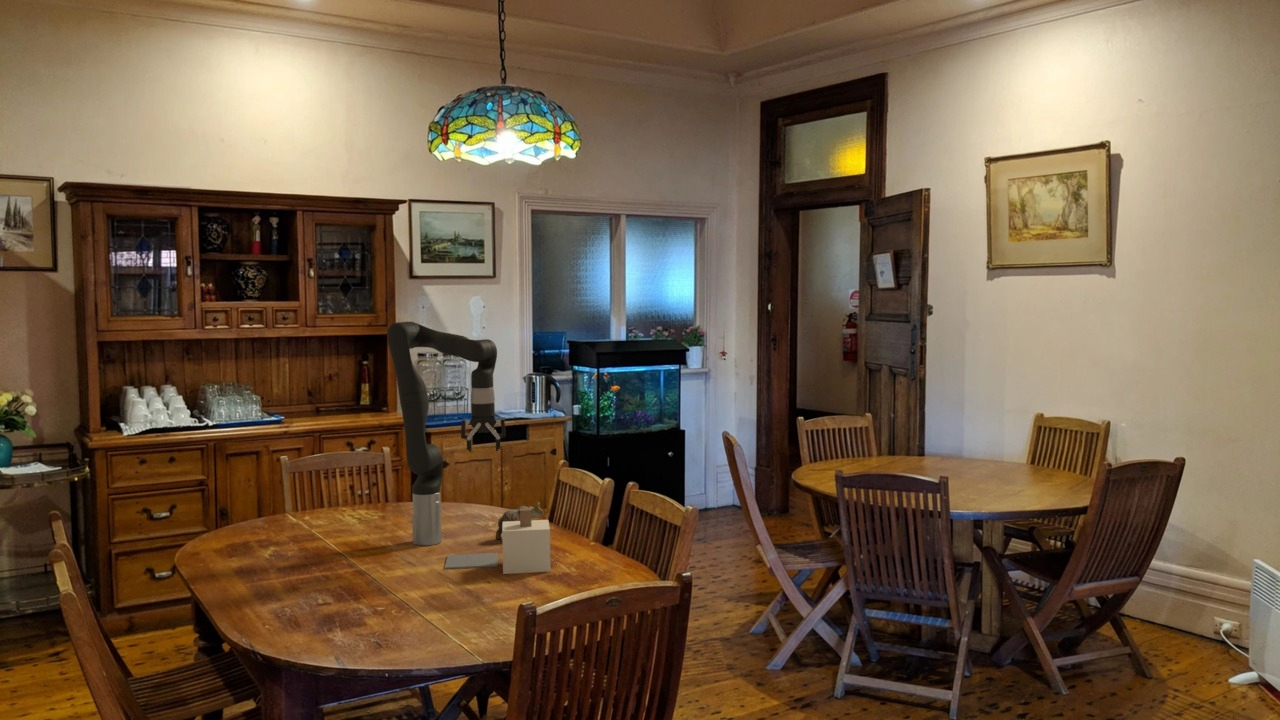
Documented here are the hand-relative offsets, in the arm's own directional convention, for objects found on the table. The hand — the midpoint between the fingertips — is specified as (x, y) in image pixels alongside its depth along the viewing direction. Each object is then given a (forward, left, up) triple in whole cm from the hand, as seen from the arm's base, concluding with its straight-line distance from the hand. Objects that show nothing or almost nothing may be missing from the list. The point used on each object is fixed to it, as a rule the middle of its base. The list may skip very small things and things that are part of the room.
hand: (483, 451), depth 307 cm
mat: (-4, -11, -33) cm, 35 cm away
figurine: (+11, +15, -33) cm, 38 cm away
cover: (+13, -20, -33) cm, 41 cm away
